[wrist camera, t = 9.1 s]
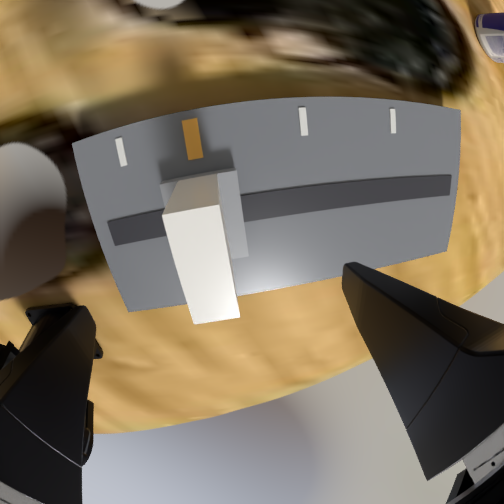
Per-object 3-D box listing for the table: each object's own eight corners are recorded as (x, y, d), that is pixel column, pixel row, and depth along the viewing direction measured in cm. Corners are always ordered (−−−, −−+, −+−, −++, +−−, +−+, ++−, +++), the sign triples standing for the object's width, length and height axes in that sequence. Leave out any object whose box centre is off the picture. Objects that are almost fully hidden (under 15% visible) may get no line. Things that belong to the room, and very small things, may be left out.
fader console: (134, 295, 20) (128, 313, 18) (85, 139, 14) (71, 143, 12) (433, 241, 21) (447, 251, 20) (443, 107, 16) (461, 110, 14)
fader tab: (181, 260, 17) (172, 327, 11) (162, 181, 14) (135, 220, 9) (247, 249, 17) (263, 313, 12) (235, 167, 14) (249, 199, 9)
